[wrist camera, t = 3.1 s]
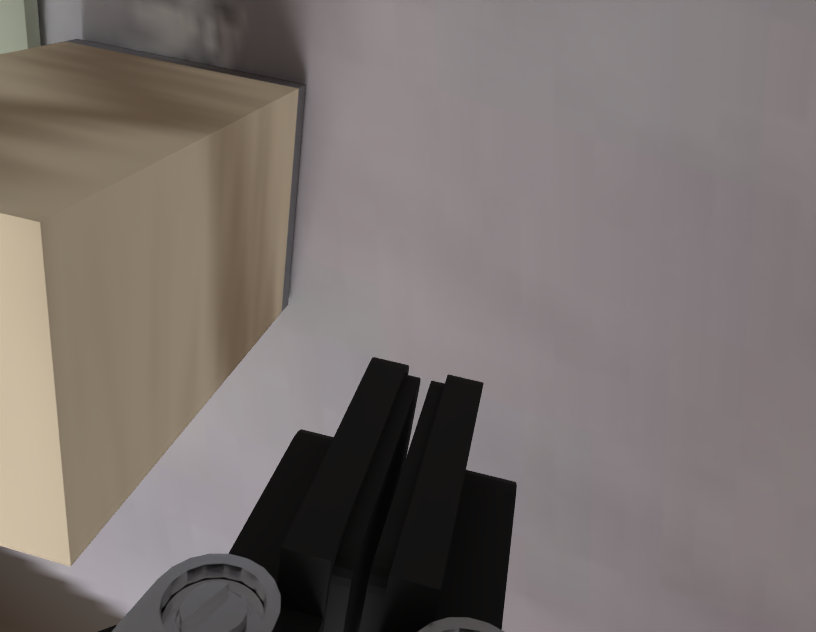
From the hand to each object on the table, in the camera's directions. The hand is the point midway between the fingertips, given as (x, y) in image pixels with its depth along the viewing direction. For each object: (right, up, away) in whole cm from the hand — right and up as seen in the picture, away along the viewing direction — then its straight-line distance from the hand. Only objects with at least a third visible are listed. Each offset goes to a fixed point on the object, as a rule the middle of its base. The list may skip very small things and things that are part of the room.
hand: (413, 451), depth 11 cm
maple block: (-6, +6, +9) cm, 12 cm away
